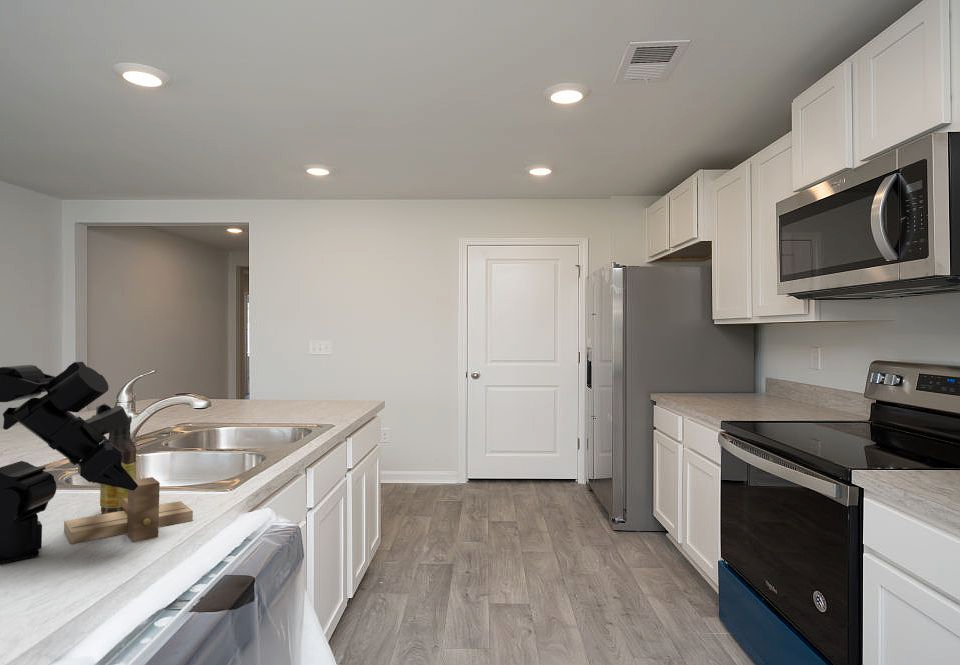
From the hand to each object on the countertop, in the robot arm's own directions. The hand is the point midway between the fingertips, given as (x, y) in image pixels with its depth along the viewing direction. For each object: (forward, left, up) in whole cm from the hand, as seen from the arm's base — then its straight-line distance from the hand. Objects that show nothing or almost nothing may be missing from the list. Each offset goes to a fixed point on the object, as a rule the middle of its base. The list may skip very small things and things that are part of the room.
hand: (130, 482), depth 104 cm
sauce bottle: (+2, +18, -10) cm, 21 cm away
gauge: (+2, +5, -10) cm, 12 cm away
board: (+2, +7, -10) cm, 13 cm away
